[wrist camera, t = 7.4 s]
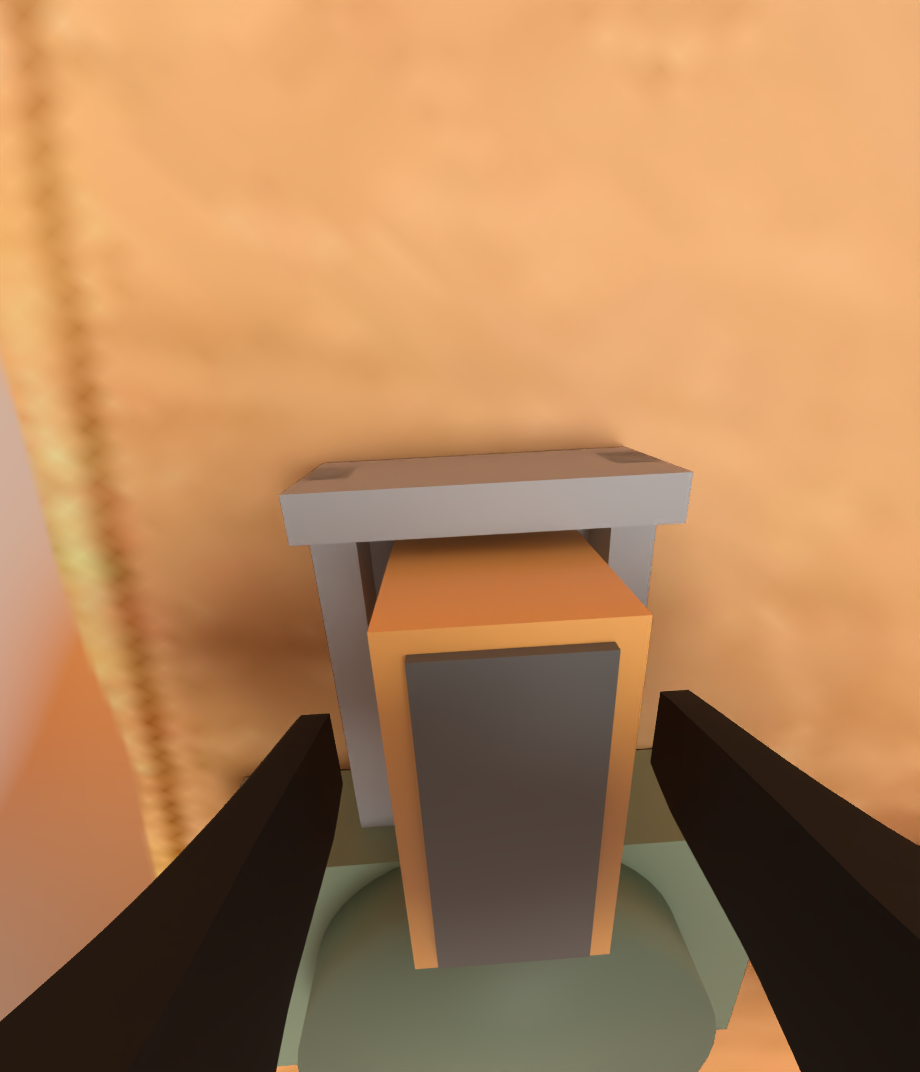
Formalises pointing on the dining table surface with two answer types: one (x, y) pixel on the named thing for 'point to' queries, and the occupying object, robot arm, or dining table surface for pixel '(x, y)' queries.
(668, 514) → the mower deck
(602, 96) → the dining table surface
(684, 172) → the dining table surface
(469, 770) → the orange-framed grey panel
